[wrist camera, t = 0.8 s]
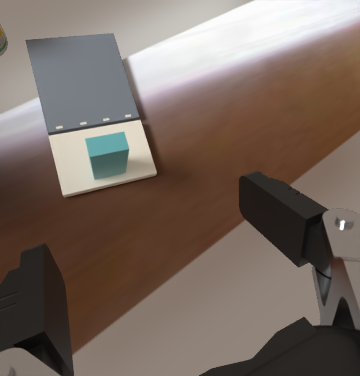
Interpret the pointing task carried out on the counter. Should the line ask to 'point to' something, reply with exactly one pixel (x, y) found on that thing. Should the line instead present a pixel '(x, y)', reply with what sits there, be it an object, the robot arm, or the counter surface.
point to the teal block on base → (101, 157)
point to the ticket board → (81, 82)
